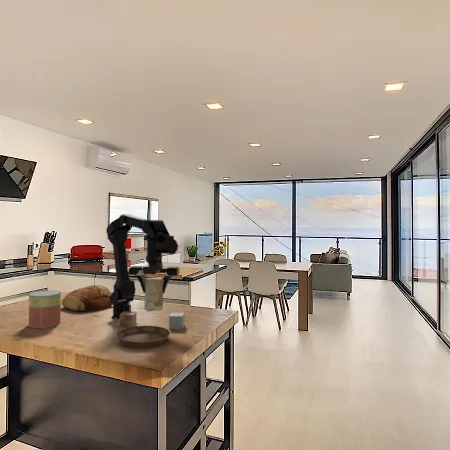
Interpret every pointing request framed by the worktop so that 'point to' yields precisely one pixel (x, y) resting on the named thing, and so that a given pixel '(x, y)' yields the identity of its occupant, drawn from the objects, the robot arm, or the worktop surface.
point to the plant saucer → (143, 336)
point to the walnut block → (127, 319)
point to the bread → (88, 298)
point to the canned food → (44, 309)
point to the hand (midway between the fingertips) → (154, 293)
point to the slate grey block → (176, 320)
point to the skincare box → (153, 294)
